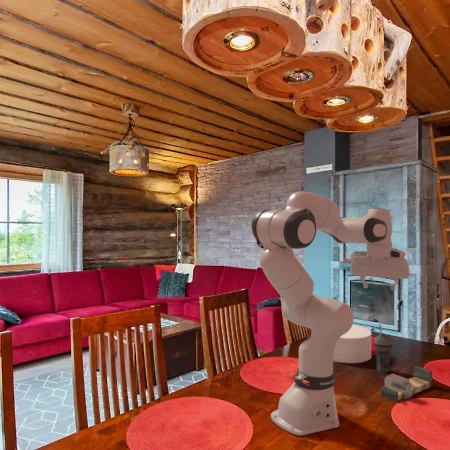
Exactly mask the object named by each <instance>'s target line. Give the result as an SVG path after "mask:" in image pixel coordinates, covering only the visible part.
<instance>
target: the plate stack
mask: <svg viewBox="0 0 450 450" xmlns="http://www.w3.org/2000/svg"><path fill="white" fill-rule="evenodd" d="M371 359H372V331H371V330H370V329H368V328H366V327H363V326H360V325H356V324H353V325H352V327H351V329H350V330H349V331H348V332H347V333H345V334H344V335H342V336H341V337H340V338H339V339H338V341H337V343H336V345H335V348H334V355H333V362H336V363H345V364H359V363H364V362H365V363H366V362H368V361H369V360H371Z"/></svg>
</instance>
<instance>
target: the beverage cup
mask: <svg viewBox="0 0 450 450" xmlns="http://www.w3.org/2000/svg"><path fill="white" fill-rule="evenodd" d="M381 327H382V326H381V324H380V323H379V334H378V335H376V336H375V338H374V341H373V346H374V350H375V363H376V370H377V372H380V373H388V372H389V369H390V359H391V350H392V346H393V345H392V344H393V343H392V340H391V339H390V337H389V336H388V335H386V334H384V333H382V328H381Z"/></svg>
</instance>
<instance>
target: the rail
mask: <svg viewBox="0 0 450 450" xmlns="http://www.w3.org/2000/svg"><path fill="white" fill-rule="evenodd" d="M413 371H414V372H413V377H411V378H408V379H409V380H410V383H412V395H415V394H417V393H421V392H422V391H424V390H427V389H429V388H431V387H433V370H430V369H427V368H424V367H421V366H418V365H416V366H414V367H413ZM380 396H382V397H384V398H387V399H389V400H391V401H394V402H398V401H400V400H404V399H403V393H401V392H399V391H397V390H394V389H392V388H389V387H385V385H381V386H380Z"/></svg>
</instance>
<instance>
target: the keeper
mask: <svg viewBox="0 0 450 450" xmlns="http://www.w3.org/2000/svg"><path fill="white" fill-rule="evenodd" d="M409 379H410V378H406V377H403V376H401V375H397V374H395V373H390V374H388V375H386V377H384V386H385V387H389V388H392V389H394V390H397V391H399V392H401V393H403V399H402V400H405V401H406V400H407V399H411V398H412V397H413V396H412V383H410V380H409Z"/></svg>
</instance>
